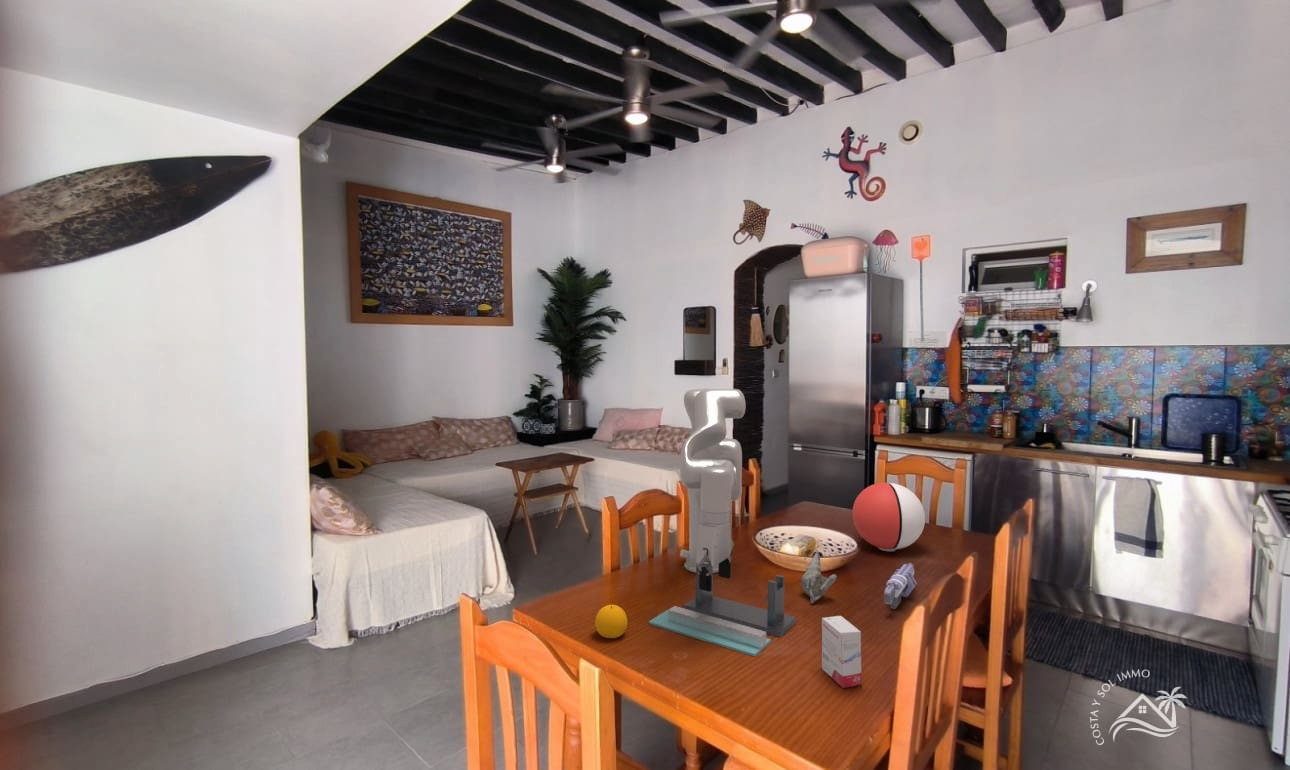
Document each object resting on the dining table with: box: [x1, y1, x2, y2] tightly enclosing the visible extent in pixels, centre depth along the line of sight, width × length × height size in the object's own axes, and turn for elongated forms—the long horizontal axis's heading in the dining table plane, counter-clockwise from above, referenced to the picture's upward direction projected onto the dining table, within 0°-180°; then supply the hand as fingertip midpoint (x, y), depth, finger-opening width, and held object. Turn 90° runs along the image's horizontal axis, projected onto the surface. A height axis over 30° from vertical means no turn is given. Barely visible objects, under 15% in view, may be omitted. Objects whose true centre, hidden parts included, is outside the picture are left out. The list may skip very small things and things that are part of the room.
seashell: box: [800, 551, 838, 604], centre depth 180 cm, size 10×17×10 cm, turn 146°
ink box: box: [821, 615, 863, 689], centre depth 135 cm, size 9×5×12 cm, turn 13°
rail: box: [667, 605, 767, 649], centre depth 156 cm, size 26×3×3 cm, turn 55°
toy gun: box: [883, 562, 918, 610], centre depth 176 cm, size 7×28×8 cm, turn 145°
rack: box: [683, 560, 797, 638], centre depth 166 cm, size 28×10×12 cm, turn 55°
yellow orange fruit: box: [594, 604, 628, 639], centre depth 155 cm, size 8×8×8 cm
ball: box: [852, 482, 926, 552], centre depth 221 cm, size 24×24×23 cm
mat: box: [648, 609, 772, 658], centre depth 157 cm, size 30×9×1 cm, turn 55°
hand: (715, 583), depth 155 cm, fingers open, 9 cm apart
